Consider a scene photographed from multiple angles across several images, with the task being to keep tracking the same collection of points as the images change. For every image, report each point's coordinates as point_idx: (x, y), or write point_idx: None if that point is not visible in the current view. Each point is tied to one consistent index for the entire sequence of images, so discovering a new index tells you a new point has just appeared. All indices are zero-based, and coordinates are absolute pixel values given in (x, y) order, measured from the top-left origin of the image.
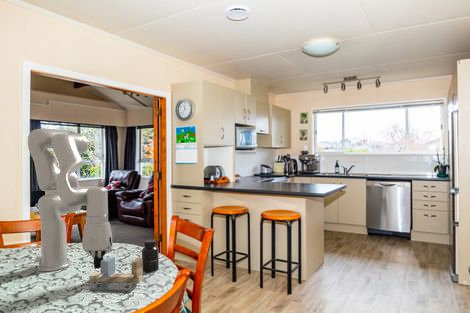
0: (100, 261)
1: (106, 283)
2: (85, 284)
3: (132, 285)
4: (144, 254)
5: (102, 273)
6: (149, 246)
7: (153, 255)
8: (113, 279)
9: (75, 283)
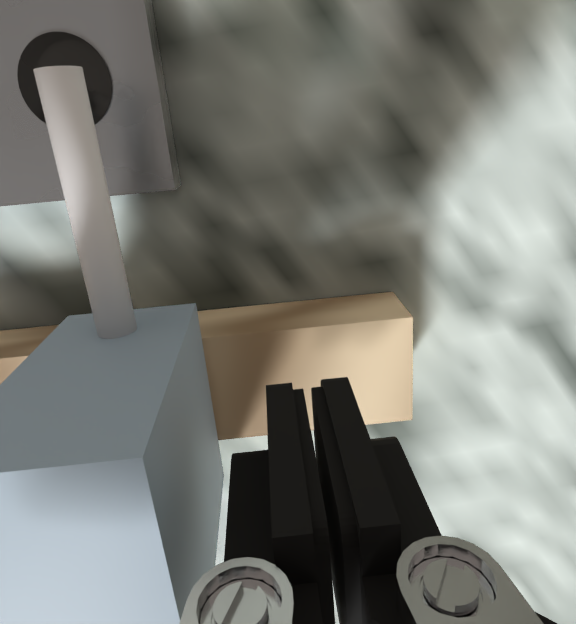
0: (238, 510)
1: (11, 181)
2: (376, 179)
3: None
4: None
5: (100, 279)
6: None
7: None
8: (37, 337)
9: (537, 184)
